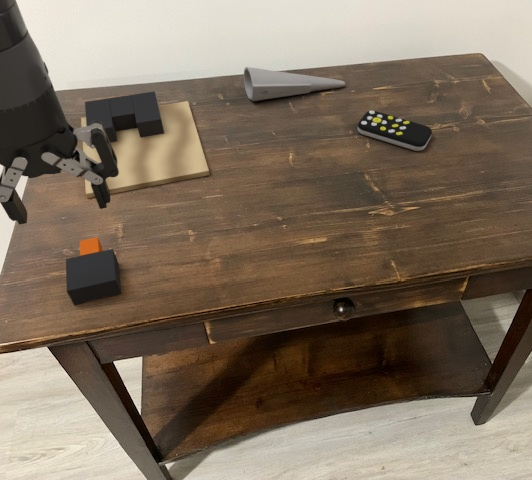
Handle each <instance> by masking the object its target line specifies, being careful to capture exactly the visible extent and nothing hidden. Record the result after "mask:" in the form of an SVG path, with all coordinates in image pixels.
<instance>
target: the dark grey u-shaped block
mask: <svg viewBox="0 0 532 480" xmlns="http://www.w3.org/2000/svg"><path fill="white" fill-rule="evenodd" d="M157 99H158V98H157V96H156V91H147V92H141V93H134V94H128V95H120V96H114V97H108V98H102V99H95V100H94V99H93V100H88V101H85V102H84V110H85V117H86V124H87V126H90V122H91V121H92V120H94V119H98V120H100V121H101V122H102V124H103V126H104V128H105V131H106V133H107V136H108V138H109V140H110V143H111V142H117V136H116V131H121V130H127V129H133V128H138V131H139V135H140V137H147V136H153V135H158V134H164V129H163V125H162V120H161V116H160V112H159V108H158V106H159V104H158V100H157Z"/></svg>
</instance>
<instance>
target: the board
mask: <svg viewBox="0 0 532 480" xmlns="http://www.w3.org/2000/svg"><path fill="white" fill-rule="evenodd" d="M158 108H159V112H160V116H161V120H162V125H163V129H164V134H158V135H153V136H147V137H140V135H139V131H138V128H133V129H127V130H121V131H116V136H117V142H111V145H112V148H113V150H114V152H115V155H116V157H117V166H118V170H119V174H118V176H116V177H108V178H107V179H106V182H107V185H108V188H109V190H110V195H112V194H117V193H118V194H119V193H123V192H129V191H133V190H139V189H144V188H149V187H154V186H155V187H156V186H159V185H166V184H170V183H175V182H176V183H177V182H181V181H187V180H191V179H197V178H201V177H208V176H210V169H209V165H208V163H207V159H206V156H205V152H204V150H203V146H202V143H201V140H200V136H199V132H198V130H197V126H196V123H195V120H194V117H193V113H192V110H191V106H190V103H189V101H188V100H185V101H179V102H173V103H167V104H159V105H158ZM80 122H81V123H80V125H81V127H86V126H87V124H86V116H84V117H81V118H80ZM82 151H84V152H85V154H86V155H87V156H88V157H90V158H91V159H93V160H95V161H96V162H98V163H100V162H101V159H100V157H99V155H98V153H97V150H96V148H94V149H92V148H90V147H89V146H88V145H87V144H86V143H85V142H83V141H82ZM84 187H85V196H86V198H87V199H92V198H96V197H95V195H94V192H93V190H92V187H91V182H89V181H87V180H86V179H84Z"/></svg>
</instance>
